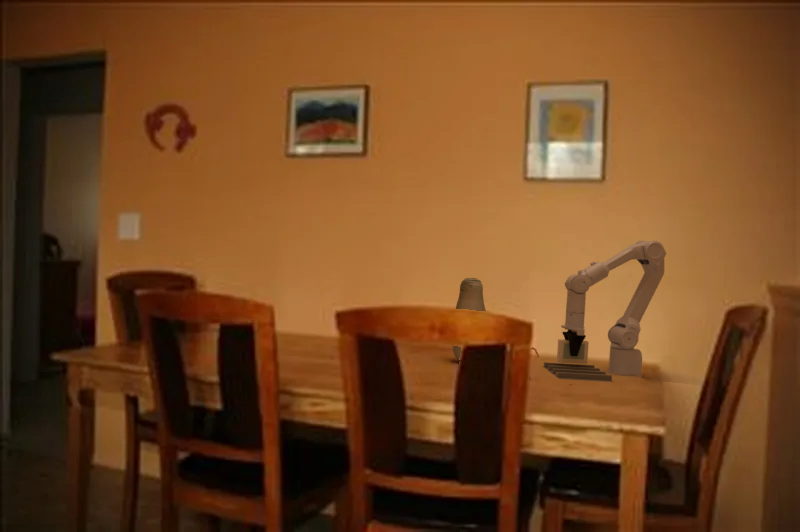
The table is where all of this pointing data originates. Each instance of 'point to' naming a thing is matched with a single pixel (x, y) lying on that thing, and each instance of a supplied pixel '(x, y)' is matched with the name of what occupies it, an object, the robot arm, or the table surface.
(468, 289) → the grey tall rounded piece
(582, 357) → the picture frame
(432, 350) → the table surface
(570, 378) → the ridged panel
